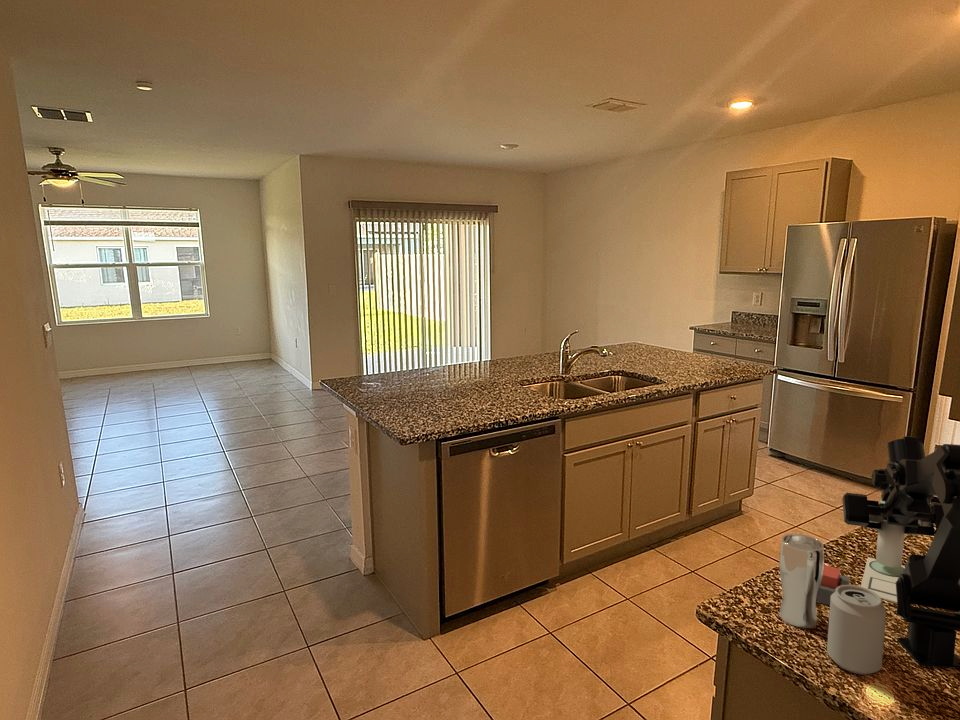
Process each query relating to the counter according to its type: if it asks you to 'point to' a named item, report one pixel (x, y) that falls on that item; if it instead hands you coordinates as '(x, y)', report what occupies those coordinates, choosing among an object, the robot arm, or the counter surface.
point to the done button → (830, 577)
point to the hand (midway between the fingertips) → (889, 529)
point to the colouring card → (881, 579)
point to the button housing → (830, 591)
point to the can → (856, 629)
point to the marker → (890, 544)
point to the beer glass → (800, 578)
